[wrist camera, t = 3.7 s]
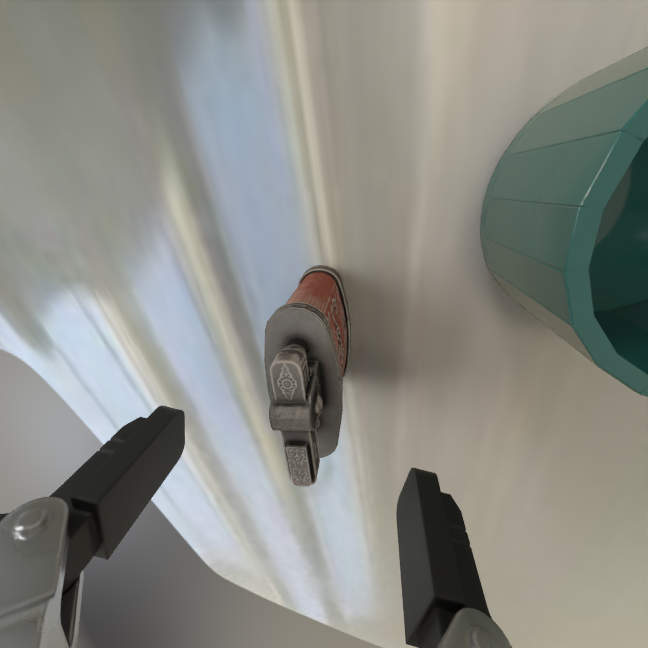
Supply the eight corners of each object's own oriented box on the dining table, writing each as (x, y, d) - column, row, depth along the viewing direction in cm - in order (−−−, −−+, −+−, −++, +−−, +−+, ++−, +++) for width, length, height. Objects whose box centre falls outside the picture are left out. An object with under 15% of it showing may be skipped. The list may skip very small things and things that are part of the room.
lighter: (293, 267, 20) (226, 336, 11) (346, 263, 19) (325, 333, 10) (307, 376, 23) (265, 502, 14) (354, 376, 22) (342, 507, 13)
